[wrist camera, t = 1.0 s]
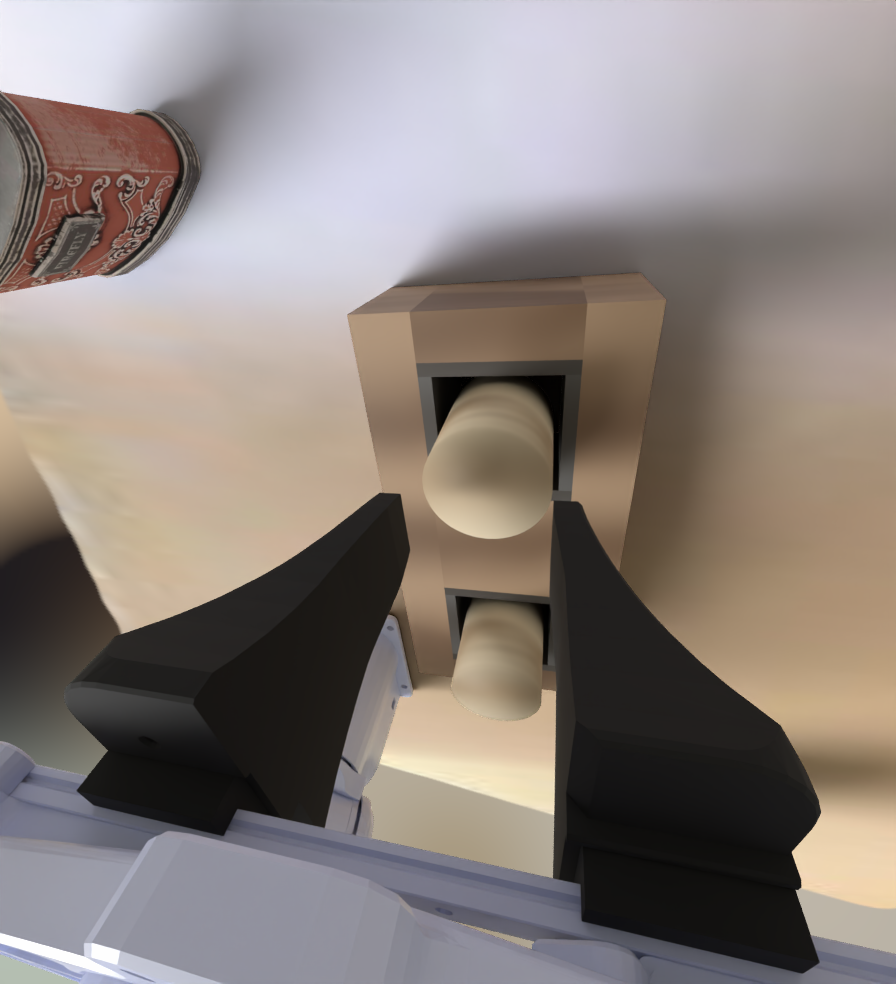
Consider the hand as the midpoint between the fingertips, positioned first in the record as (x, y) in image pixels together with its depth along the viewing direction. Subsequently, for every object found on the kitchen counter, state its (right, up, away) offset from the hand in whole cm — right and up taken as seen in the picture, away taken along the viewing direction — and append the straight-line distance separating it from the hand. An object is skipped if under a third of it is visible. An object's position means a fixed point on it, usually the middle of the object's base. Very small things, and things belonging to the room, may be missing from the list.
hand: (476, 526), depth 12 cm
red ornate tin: (-14, +14, +7) cm, 21 cm away
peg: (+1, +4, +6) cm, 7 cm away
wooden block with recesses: (+3, +1, +11) cm, 12 cm away
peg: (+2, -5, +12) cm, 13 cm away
